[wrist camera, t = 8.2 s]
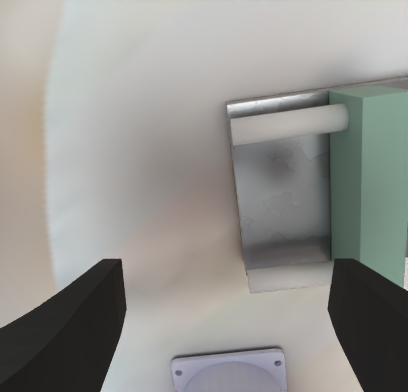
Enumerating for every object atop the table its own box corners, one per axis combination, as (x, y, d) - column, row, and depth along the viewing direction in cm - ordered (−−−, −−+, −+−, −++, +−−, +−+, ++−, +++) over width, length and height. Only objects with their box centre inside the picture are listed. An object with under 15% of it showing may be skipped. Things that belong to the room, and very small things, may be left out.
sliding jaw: (366, 262, 20) (402, 307, 17) (246, 276, 21) (255, 322, 17) (370, 84, 17) (416, 90, 13) (227, 105, 17) (232, 116, 14)
